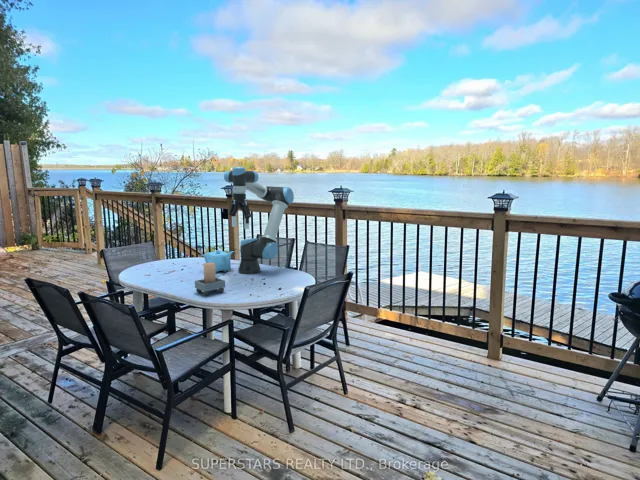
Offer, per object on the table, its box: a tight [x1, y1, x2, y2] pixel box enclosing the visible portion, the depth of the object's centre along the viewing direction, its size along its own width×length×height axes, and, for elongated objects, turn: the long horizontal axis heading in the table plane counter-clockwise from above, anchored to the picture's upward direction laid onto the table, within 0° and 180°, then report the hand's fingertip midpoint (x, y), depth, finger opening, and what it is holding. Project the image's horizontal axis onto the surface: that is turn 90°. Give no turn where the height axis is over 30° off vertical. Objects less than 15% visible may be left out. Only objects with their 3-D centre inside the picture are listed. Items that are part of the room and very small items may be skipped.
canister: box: [203, 262, 217, 284], centre depth 225 cm, size 6×6×12 cm
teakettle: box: [201, 249, 235, 274], centre depth 276 cm, size 19×19×15 cm
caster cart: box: [194, 277, 226, 297], centre depth 226 cm, size 13×11×7 cm
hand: (240, 227), depth 243 cm, fingers open, 13 cm apart
